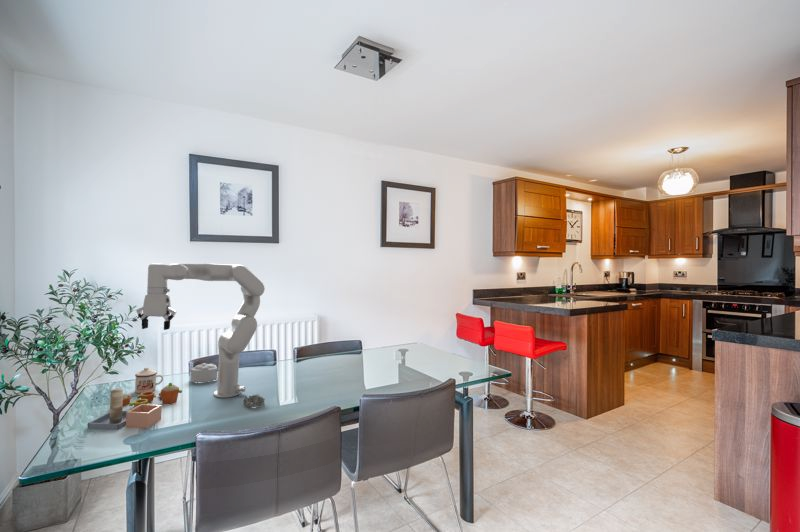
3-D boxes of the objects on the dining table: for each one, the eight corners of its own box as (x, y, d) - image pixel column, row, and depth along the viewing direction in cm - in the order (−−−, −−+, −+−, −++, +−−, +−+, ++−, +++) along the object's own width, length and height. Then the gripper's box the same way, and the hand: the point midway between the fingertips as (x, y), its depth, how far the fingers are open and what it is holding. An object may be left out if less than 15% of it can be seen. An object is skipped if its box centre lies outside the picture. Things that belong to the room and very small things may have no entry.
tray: (141, 418, 159) (141, 411, 158) (118, 432, 146) (118, 424, 145) (112, 417, 158) (112, 410, 158) (87, 430, 145) (87, 423, 145)
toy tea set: (174, 393, 189) (175, 374, 189) (185, 402, 179) (186, 382, 179) (110, 406, 170) (111, 385, 169) (119, 417, 159) (120, 394, 159)
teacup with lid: (134, 394, 184) (135, 371, 184) (134, 389, 191) (135, 366, 191) (162, 391, 190) (163, 368, 190) (162, 385, 198) (163, 363, 198)
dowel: (124, 420, 154) (125, 388, 154) (116, 424, 150) (118, 392, 150) (114, 419, 154) (115, 388, 154) (106, 423, 150) (108, 391, 150)
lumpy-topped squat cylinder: (217, 381, 209) (218, 366, 209) (191, 384, 202) (191, 368, 202) (214, 376, 218) (215, 361, 218) (189, 379, 210) (190, 363, 210)
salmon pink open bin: (161, 421, 156) (161, 404, 156) (147, 430, 148) (148, 413, 148) (140, 420, 156) (141, 404, 156) (125, 429, 148) (126, 412, 148)
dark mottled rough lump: (241, 403, 180) (241, 395, 180) (256, 399, 186) (256, 391, 186) (250, 410, 173) (251, 401, 173) (266, 406, 179) (266, 397, 178)
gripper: (181, 291, 172) (179, 328, 172) (143, 289, 172) (142, 326, 172) (171, 292, 165) (170, 331, 165) (132, 290, 164) (130, 329, 165)
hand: (155, 328), depth 169 cm, fingers open, 9 cm apart
